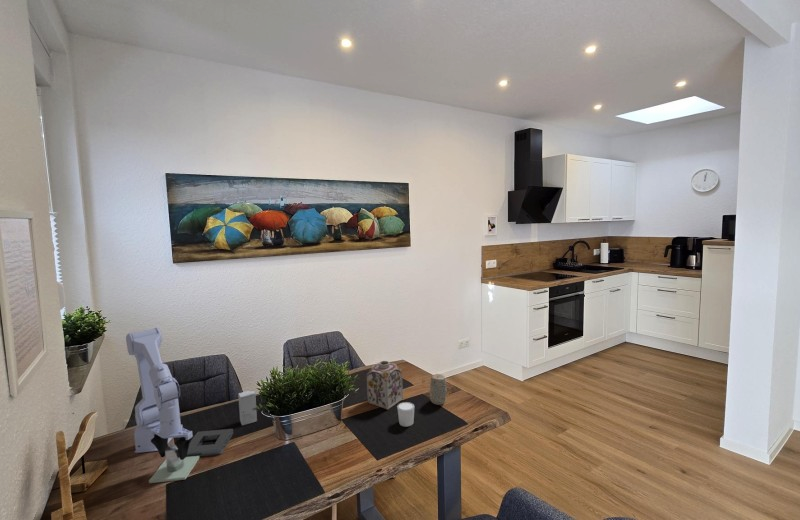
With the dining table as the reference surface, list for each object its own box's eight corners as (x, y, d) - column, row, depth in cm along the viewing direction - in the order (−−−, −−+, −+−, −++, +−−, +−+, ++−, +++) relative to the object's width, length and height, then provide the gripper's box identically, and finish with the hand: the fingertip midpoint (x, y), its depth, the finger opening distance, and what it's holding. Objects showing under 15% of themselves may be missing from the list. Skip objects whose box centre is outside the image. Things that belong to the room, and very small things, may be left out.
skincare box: (242, 426, 152) (239, 397, 151) (239, 421, 156) (237, 393, 154) (257, 421, 155) (255, 393, 154) (255, 416, 159) (253, 389, 158)
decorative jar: (383, 392, 177) (382, 355, 175) (403, 399, 170) (402, 360, 168) (366, 403, 167) (365, 364, 165) (387, 410, 160) (386, 370, 158)
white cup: (395, 425, 149) (394, 408, 148) (401, 416, 155) (401, 400, 154) (411, 428, 146) (410, 411, 145) (417, 419, 152) (416, 403, 152)
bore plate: (182, 457, 133) (182, 452, 132) (198, 436, 145) (197, 431, 145) (221, 454, 134) (220, 448, 134) (233, 433, 147) (232, 428, 147)
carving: (443, 407, 161) (442, 380, 160) (427, 403, 165) (426, 377, 164) (449, 401, 167) (448, 375, 166) (433, 397, 171) (433, 372, 169)
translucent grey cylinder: (163, 470, 125) (161, 451, 124) (176, 461, 130) (174, 442, 129) (175, 473, 123) (173, 453, 123) (187, 463, 128) (185, 444, 127)
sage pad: (149, 483, 120) (148, 480, 120) (166, 461, 131) (166, 459, 131) (185, 479, 121) (185, 477, 121) (199, 457, 132) (199, 455, 132)
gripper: (197, 413, 126) (201, 451, 128) (161, 410, 130) (165, 447, 131) (181, 425, 120) (185, 465, 121) (143, 421, 123) (148, 460, 124)
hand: (174, 456), depth 126 cm, fingers open, 7 cm apart
